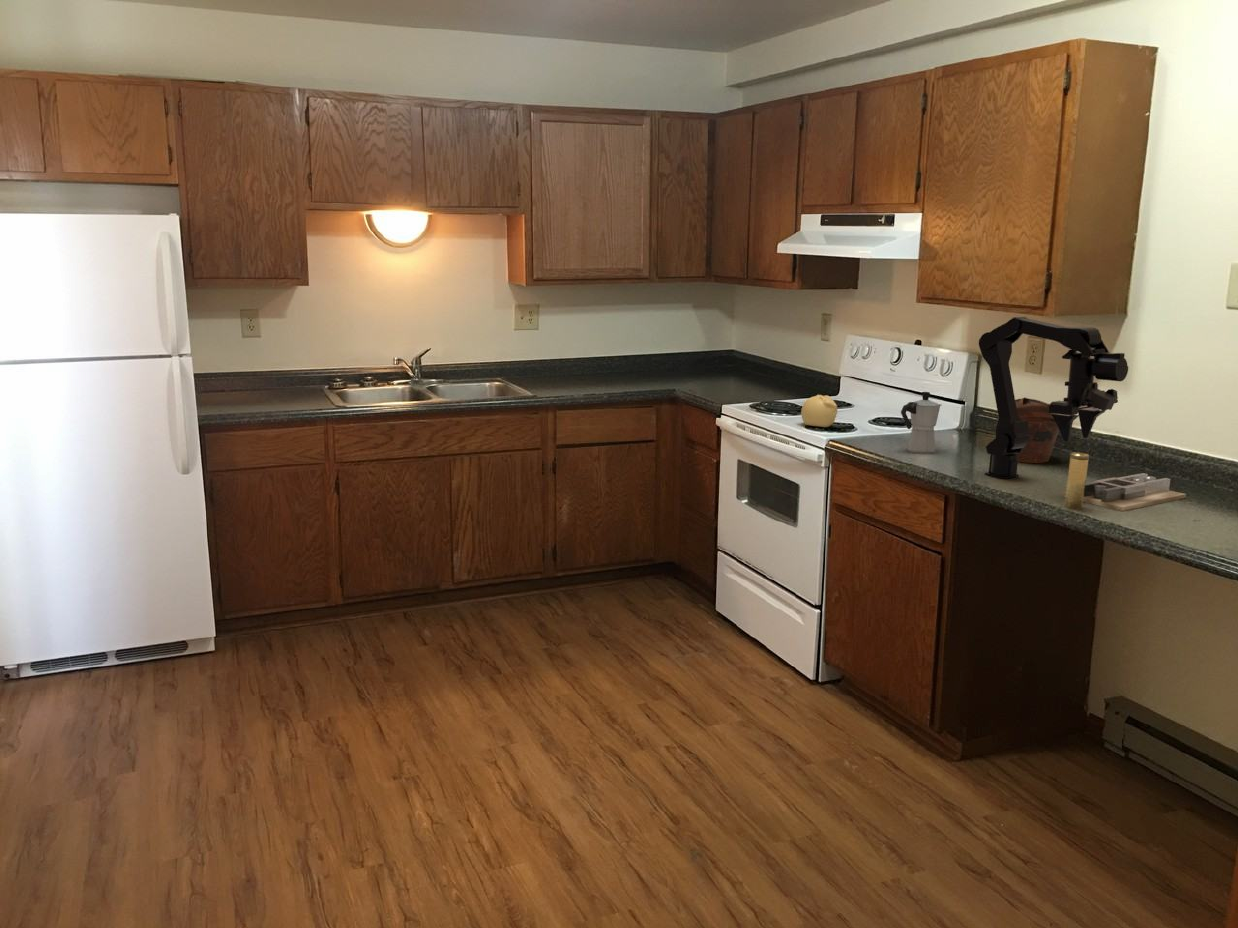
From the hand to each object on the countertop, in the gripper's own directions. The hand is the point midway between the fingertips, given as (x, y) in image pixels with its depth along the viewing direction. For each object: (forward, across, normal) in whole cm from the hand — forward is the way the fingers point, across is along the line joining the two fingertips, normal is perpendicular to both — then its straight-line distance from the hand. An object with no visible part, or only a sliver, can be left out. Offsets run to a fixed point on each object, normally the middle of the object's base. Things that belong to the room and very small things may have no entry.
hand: (1075, 439), depth 254 cm
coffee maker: (+12, +9, +54) cm, 56 cm away
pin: (+14, -14, -8) cm, 22 cm away
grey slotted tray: (+13, +6, -10) cm, 18 cm away
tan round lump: (+10, +14, +98) cm, 100 cm away
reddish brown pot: (+13, +28, +30) cm, 43 cm away
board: (+14, +6, -10) cm, 18 cm away
